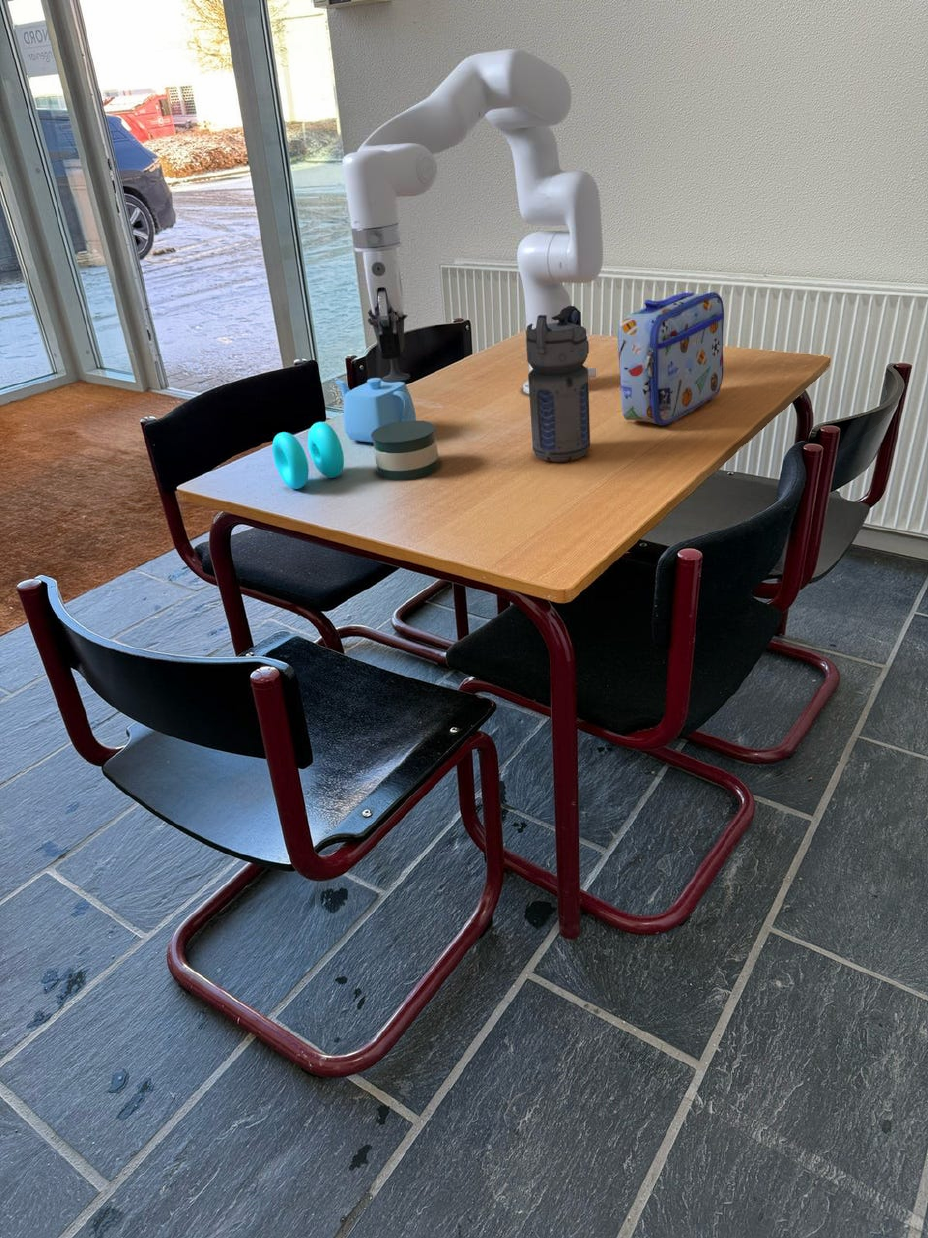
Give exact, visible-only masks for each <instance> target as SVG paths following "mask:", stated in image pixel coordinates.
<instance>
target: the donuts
mask: <svg viewBox="0 0 928 1238" xmlns="http://www.w3.org/2000/svg"><path fill="white" fill-rule="evenodd" d="M307 434H308V435H307V447H308V452H309V455H310V458H311V460H312V462H313V465H314V466H315V468H316V469H317V470H318V471H319V473H320V474H322V475H323V476H324V477H327V478H330V479H334V478H337V477H339V476H340V475H341V474H342V473H343V470H344V467H345V455H344V451H343V446H342V443H341V441H340V439H339V436H338V435H337V432H336V431H335V429H334V428H333V427H332V426H331V425H330V424H329V423H327V422H324V421H318V422H317V421H316V422H315V423H313V425H311V427H310V428H309V431H308V433H307ZM272 456H273V461H274V464H275V468H276V470H277V472H278V474H279V476H280V478H281V480H282V482H284V484H285V485H286V486H287V487H289V488H291V489H293V490H299V489H302V488H303V487H305V485H306V484H307V482H308V479H309V474H310V473H309V472H310V469H309V462H308V458H307V455H306V452H305V450H304V447H303V445H302V444H301V442H300V441H299V440H298V439H297V437H296V436H294V435H293V434H292V433H290V432H288V431H287V432H286V431H282V432H279V433H277V434H276V435H275V436H274V438H273V441H272Z"/></svg>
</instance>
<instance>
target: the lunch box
mask: <svg viewBox="0 0 928 1238" xmlns="http://www.w3.org/2000/svg"><path fill="white" fill-rule="evenodd" d="M724 324H725V308H724V302H723V298H722V296H721V295H720V294H719V293H718V292H715V291H714V292H713V291H711V292H707V293H695V292H681V293H676V294H674V295H671V296H669V297H667V298H664V299H661V300H651V299H646V300H644V307H642V308H639V309H638V310H636V311H633V312H632V313H630V314H628V315H627V316H626V317H624V319H623V320H622V322H621V323H620V325H619V327H618V332H617V349H618V350H617V351H618V362H619V364H618V365H619V374H620V375H619V376H620V403H621V412H622V416H623V419H625V420H626V421H637V422H646V423H651V424H655V425H658V426H659V427H660V426H661V427H663V426H667V425H671V424H673V422H676V421H677V420H679V419H681V418H682V417H685V416H686V415H687V414H690V413H692V412H693V411H695V410H696V409H697V408H699V407H701V406H702V405H704V404H705V403H706V402H707V401H709V400H711V399H712V398H714V397H715V396H716V395H718V394H719V392H720V390H721V387H722V384H723V380H724V373H725V372H724V371H725V369H724V368H725V367H724V327H725V325H724Z"/></svg>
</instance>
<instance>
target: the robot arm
mask: <svg viewBox="0 0 928 1238" xmlns="http://www.w3.org/2000/svg"><path fill="white" fill-rule="evenodd" d="M572 97H573V95H572V89H571V87H570V84H569V81H568V79H567V77H566V76H565V75H564V74H563V73H562V71H561V70H559V69H558V68H556V67H555V66H553V65H551V64H549V63H547V62H546V61H544V60H542V59H541V58H539V57H537V56H535V55H534V54H532V53H529V52H528V51H525V50H522V49H517V48H507V49H501V50H493V51H485V52H478V53H475V54H472V55H469V56H467V57H465V58H464V59H463V60H462V61H461V62H459V64H458V65H457V66H456V67H455V68H454V69H453V70H452V71H451V72H450V73H449V74H448V75H447V77H445V79H444V80H443V81H442V82H441V83H440V84H439V85H438V86H437V87H436V88H435V89H434V91H433V92H432V93H430V95H429V96H428V97H426V98H425V99H423V100H421V101H420V102H417V103H416V104H414V105H413V106H411V107H409V108H408V109H406V110H404V111H402V112H401V113H399V114H397V115H396V116H394V117H392V118H391V119H389V120H388V121H386V122H384V123H383V124H381V125H380V126H379V127H378V128H376V129H375V130H374V131H373V132H372V133H371V134H370V135H369V136H368V137H367V138H366V139H365V141H363V143H362V144H361V145H360V147H359V148H357V151H354V152H350V153H347V154H346V155H345V156H343V159H342V162H341V163H342V165H341V167H342V174H343V180H344V188H345V193H346V194H345V195H346V200H347V201H346V202H347V205H348V206H347V207H348V214H349V221H350V228H351V233H352V235H351V236H352V241H353V247H354V251H355V252H357V253H362V259H363V266H364V274H365V280H366V286H367V293H368V298H369V303H370V309H372V313H373V315H375V316H377V318H378V326H379V340H380V347H381V351H380V353H381V359H382V360H390V359H392V358H397V359H400V358H401V357H402V353H401V349H400V341H399V334H398V332H396V323H395V314H394V312H397V311H398V313H399V314H401V313H402V311H403V312H404V307H405V298H404V292H403V286H402V278H401V270H400V263H399V258H398V252H397V248H399V247H402V236H401V228H400V223H399V222H400V220H399V213H398V205H397V198H401V197H404V198H405V197H416V196H421V195H424V194H425V193H427V192H428V191H429V190H430V189H431V188H432V187H433V185H434V184H435V181H436V180H437V174H438V165H437V160H436V158H435V156H434V155H435V154H438V153H439V154H440V153H441V152H444V151H446V150H447V151H448V150H449V149H452V148H453V147H456V146H458V145H459V144H461V143H462V142H463V141H464V140H465V139H466V138H467V137H468V135H469V134H470V133H471V132H472V131H473V130H474V129H475V127H476V126H477V125H478V124H479V123H480V122H481V121H482V120H483V118H485V119H486V120H487V122H489V124H491V125H492V126H493V127H494V128H495V129H496V130H498V131H499V132H500V133H501V134H502V136H503V137H504V138H505V140H506V142H507V143H508V145H509V148H510V150H511V154H512V159H513V165H514V175H515V183H516V192H517V201H518V208H519V213H520V216H521V218H522V220H523V221H524V222H525V223H526V224H529V225H532V226H542V227H543V226H545V227H546V226H549V227H550V226H551V227H552V226H566V227H567V228H568V231H566V230H565V231H562V230H546V231H545V230H544V231H536V232H532V233H529V234H527V235H526V236H524V237H523V238H522V239H521V241H520V243H519V244H518V247H517V252H516V261H517V267H518V272H519V275H520V279H521V280H520V281H521V284H522V287H523V288H522V290H523V296H524V297H523V298H524V306H525V307H524V308H525V310H524V311H525V323H526V327H527V326H528V325H530V324H533V325H532V329H534V328H536V324H537V317H538V316H539V315H547V319H546V320H547V324H550V323H558V322H559V320H553V319H552V317H554V316H556V315H558V314H560V312H561V310H562V309H564V308H566V307H568V306H572V300H571V297H570V294H569V292H568V290H567V288H566V287H565V285H564V284H565V283H566V284H587V283H591V282H592V281H594V280H596V279H597V278H598V276H599V275H600V273H601V271H602V268H603V263H604V244H603V243H604V242H603V240H604V239H603V225H602V212H601V211H602V209H601V197H600V190H599V188H598V184H597V182H596V180H595V179H594V177H593V176H592V175H591V174H590V173H589V172H587V171H584V170H579V169H578V170H577V169H575V170H562V169H561V167H560V165H561V164H560V159H559V152H558V150H559V149H558V143H557V138H556V136H555V134H554V132H553V130H552V128H551V127H552V126H556V125H558V124H560V123H562V122H563V121H564V120H565V119H566V118H567V117H568V115H569V113H570V110H571V106H572ZM375 307H376V308H377V309H375ZM388 310H391V311H392V313H388ZM376 314H377V315H376ZM389 318H391V319H389ZM391 320H392V321H391ZM585 367H586V368H587V369H588V379H590V378H596V377H597V368H596V367H589V366H585ZM531 370H533V368H532V367H531V365H530V364H529V363H528V374H529V373H530V372H531ZM522 389H523V390H522V391H523V392H524V393H525V394H526V395H529V380H526V382H524V383H523V385H522Z"/></svg>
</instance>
